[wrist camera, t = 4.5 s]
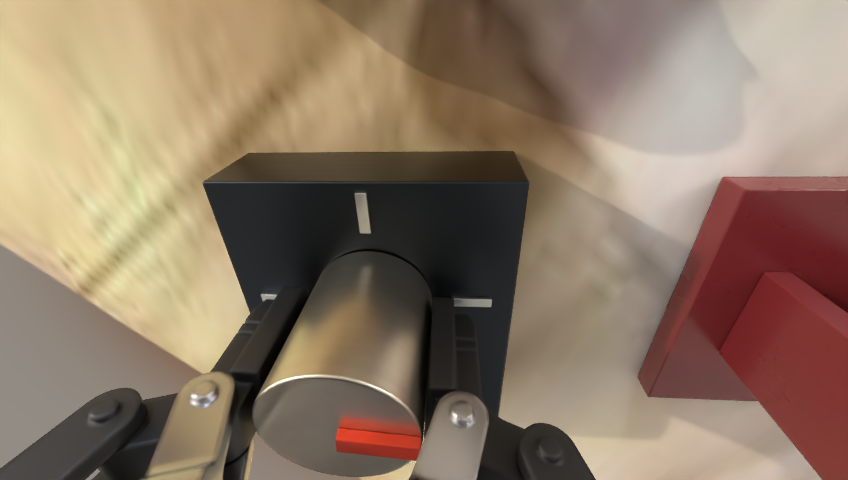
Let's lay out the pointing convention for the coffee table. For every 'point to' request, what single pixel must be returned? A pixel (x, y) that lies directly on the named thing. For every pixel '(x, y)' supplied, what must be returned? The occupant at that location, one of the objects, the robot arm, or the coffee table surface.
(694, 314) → the bracket
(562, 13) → the coffee table surface
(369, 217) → the dial panel
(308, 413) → the dial
